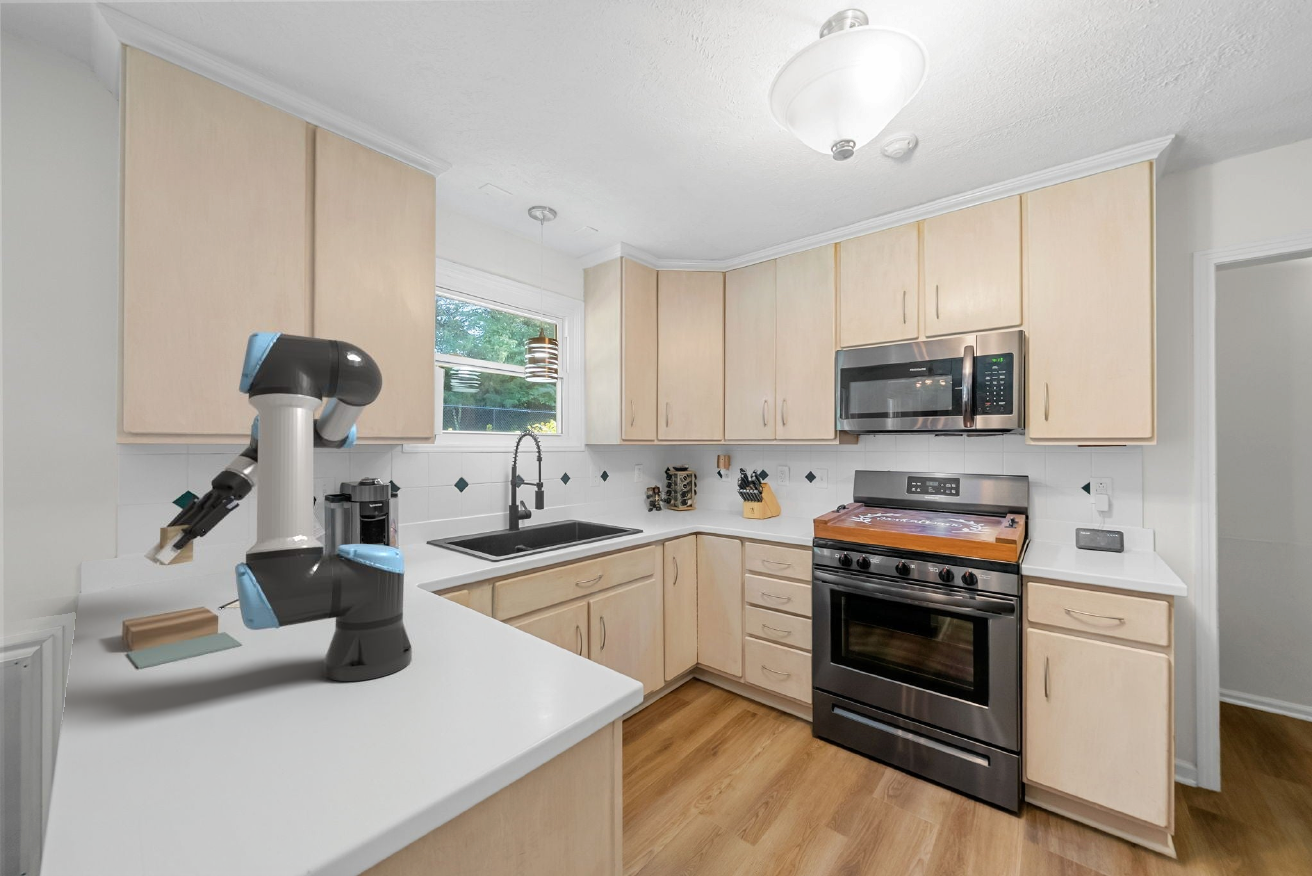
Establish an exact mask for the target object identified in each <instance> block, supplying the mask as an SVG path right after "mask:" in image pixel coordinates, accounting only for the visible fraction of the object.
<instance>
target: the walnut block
mask: <svg viewBox="0 0 1312 876" xmlns="http://www.w3.org/2000/svg"><path fill="white" fill-rule="evenodd" d="M218 633H219V615H217V614H215V612H213V611H211V610H210V609H208V608H206V607H205V606H200V607H193V608H189V609H183V610H178V611H177V610H176V611H171V612H170V611H169V612H165V613H160V614H153V615H148V616H143V617H142V616H141V617H136V618H132V619H131V618H129V619H126V620H122V631H121V634H122V635H121V636H122V637H121V639H122V641H123V642H124V643H125V644H126V645H127V648H129V650H131V651H136V650H141V649H145V648H150V647H155V646H160V645H165V644H169V643H174V642H179V641H184V640H189V639H194V638H198V637H203V636H208V635H213V634H218Z"/></svg>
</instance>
